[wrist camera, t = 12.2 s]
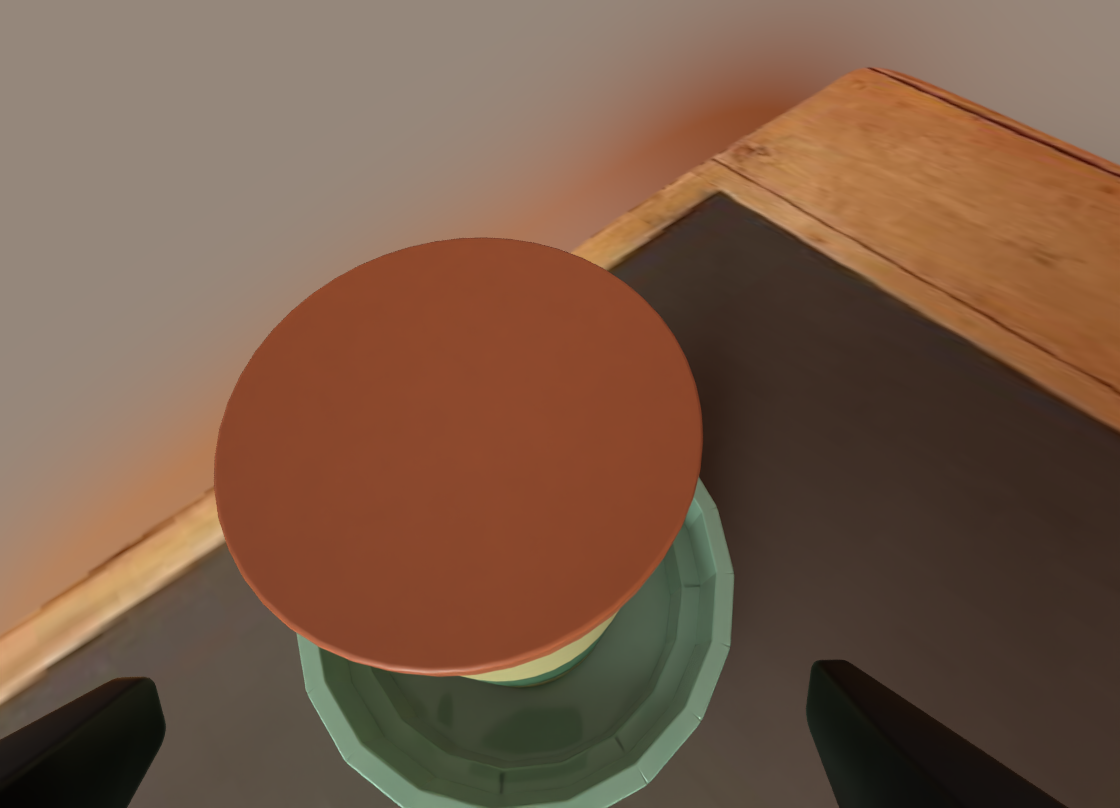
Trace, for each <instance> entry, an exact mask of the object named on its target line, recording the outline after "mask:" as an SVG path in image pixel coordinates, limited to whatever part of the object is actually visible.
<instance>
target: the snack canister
mask: <svg viewBox="0 0 1120 808" xmlns="http://www.w3.org/2000/svg"><path fill="white" fill-rule="evenodd" d="M702 448H703V426H702V411H701V406H700V401H699V396H698V391H697V386H696V383H695V380H694V378H693V375H692V372H691V369H690V367H689V364H688V361H687V358H686V357H685V355H684V353H683V351H682V349H681V347H680V345H679V343H678V341H677V340H676V338H675V336H674V334H673V333H672V332H671V330H670V329H669V328H668V326H667V325H666V323H665V322H664V321H663V319H662V318H661V316H660V315H659V314H658V313H657V312H656V311H655V310H654V309H653V308H652V307H651V306H650V305H649V303H648V302H647V301H646V300H645V299H644V298H643V297H642V296H640V295H639V294H638V293H637V292H636V291H634V290H633V289H632V288H631V287H630V286H628V285H627V284H626V283H625V282H623V281H622V280H620V279H619V278H617V277H616V276H614V275H613V274H611V273H610V272H608V271H606V270H605V269H603V268H601V267H599V266H597V265H595V264H593V263H591V262H589V261H587V260H585V259H583V258H581V257H578V256H576V255H573V254H570V253H568V252H565V251H562V250H560V249H556V248H552V247H549V246H545V245H541V244H537V243H532V242H525V241H519V240H513V239H500V238H459V239H451V240H443V241H435V242H430V243H426V244H421V245H417V246H413V247H408V248H405V249H402V250H398V251H395V252H393V253H389V254H386V255H383V256H381V257H378V258H376V259H374V260H371V261H369V262H366V263H364V264H362V265H359V266H358V267H356V268H354V269H352V270H350V271H348V272H346V273H345V274H343V275H341V276H339V277H337V278H335V279H334V280H332V281H331V282H329V283H328V284H326V285H325V286H323V287H322V288H320V289H319V290H317V291H316V292H314V293H313V294H312V295H310V296H309V297H308V298H307V299H305V300H304V301H303V302H302V303H301V304H299V305H298V306H297V307H296V308H295V309H293V310H292V311H291V312H290V313H289V314H288V315H287V316H286V317H285V318H284V319H283V320H282V321H281V322H280V323H279V324H278V325H277V326H276V327H275V328H274V329H273V330H272V331H271V333H270V334H269V335H268V337H267V338H266V339H265V340H264V342H263V343H262V344H261V346H260V347H259V348H258V349H257V350H256V351H255V353H254V355H253V356H252V358H251V359H250V361H249V363H248V364H247V366H246V367H245V369H244V371H243V372H242V374H241V375H240V377H239V379H238V382H237V384H236V386H235V388H234V390H233V393H232V395H231V397H230V399H229V401H228V404H227V407H226V410H225V413H224V416H223V420H222V423H221V426H220V429H219V435H218V441H217V447H216V453H215V467H214V490H215V497H216V504H217V511H218V518H219V521H220V524H221V527H222V530H223V534H224V537H225V540H226V543H227V546H228V549H229V551H230V553H231V555H232V557H233V559H234V561H235V563H236V565H237V567H238V569H239V570H240V572H241V574H242V576H243V578H244V579H245V581H246V582H247V583H248V585H249V586H250V587H251V588H252V590H253V591H254V592H255V594H256V595H257V596H258V598H259V599H260V600H261V602H262V603H263V604H264V605H265V606H266V607H267V608H268V609H269V610H270V611H271V612H273V613H274V614H275V615H276V616H277V617H278V618H279V619H280V620H281V621H282V622H283V623H285V624H286V625H287V626H288V627H289V628H290V629H292V630H294V631H295V632H297V633H298V634H300V635H301V636H303V637H304V638H306V639H307V640H309V641H311V642H312V643H314V644H315V645H317V646H318V647H320V648H323V649H325V650H327V651H329V652H332V653H334V654H336V655H339V656H341V657H343V658H346V659H348V660H350V661H352V662H356V663H360V664H364V665H368V666H372V667H376V668H380V669H383V670H387V671H392V672H398V673H405V674H416V675H426V676H436V677H444V676H462V677H466V678H470V679H474V680H478V681H483V682H487V683H492V684H496V685H502V686H507V687H517V688H521V687H533V686H538V685H543V684H546V683H549V682H552V681H555V680H557V679H559V678H561V677H563V676H564V675H566V674H568V673H569V672H571V671H572V670H573V669H575V668H576V667H577V666H579V665H580V664H581V663H582V662H583V661H584V660H585V659H586V658H587V657H588V655H589V654H590V653H591V652H592V650H593V649H594V648H595V646H596V645H597V643H598V642H599V641H600V639H601V638H602V636H603V635H604V633H605V632H606V630H607V629H608V627H609V626H610V624H611V623H612V621H613V619H614V618H615V616H616V614H617V613H618V611H619V609H620V608H621V607H622V606H623V605H624V604H625V603H626V602H628V601H629V600H630V599H631V598H632V597H633V596H634V595H635V594H636V593H637V592H638V590H639V589H640V588H641V587H642V585H643V584H644V583H645V582H646V580H647V579H648V578H649V577H650V575H651V574H652V573H653V572H654V570H655V569H656V568H657V567H658V565H659V564H660V563H661V561H662V560H663V558H664V557H665V555H666V553H667V552H668V550H669V548H670V547H671V545H672V543H673V542H674V540H675V538H676V536H677V535H678V533H679V531H680V530H681V528H682V525H683V523H684V520H685V518H686V515H687V513H688V510H689V508H690V506H691V503H692V501H693V498H694V494H695V490H696V486H697V481H698V477H699V473H700V469H701V459H702Z"/></svg>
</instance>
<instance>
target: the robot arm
mask: <svg viewBox="0 0 1120 808" xmlns="http://www.w3.org/2000/svg"><path fill="white" fill-rule="evenodd" d="M806 716H807V722H808V726H809V729H810V732H811V734H812V737H813V740H814V742H815V745H816V748H817V750H818V753H819V755H820V758H821V761H822V763H823V766H824V769H825V771H826V774H827V777H828V779H829V782H830V784H831V787H832V790H833V792H834V795H835V798H836V800H837V803H838V805H839V808H1068V807H1066V806H1065V805H1063V804H1062V803H1060V802H1059V801H1057V800H1056V799H1054V798H1053V797H1051V796H1050V795H1048V794H1047V793H1045V792H1044V791H1042V790H1041V789H1039V788H1038V787H1036V786H1035V785H1033V784H1032V783H1030V782H1029V781H1027V780H1026V779H1024V778H1023V777H1021V776H1020V775H1018V774H1017V773H1015V772H1014V771H1012V770H1011V769H1009V768H1008V767H1006V766H1005V765H1003V764H1002V763H1000V762H999V761H997V760H996V759H994V758H993V757H991V756H990V755H988V754H987V753H985V752H984V751H982V750H981V749H979V748H978V747H976V746H975V745H973V744H972V743H970V742H969V741H967V740H966V739H964V738H963V737H961V736H960V735H958V734H957V733H955V732H954V731H952V730H951V729H949V728H948V727H946V726H944V725H943V724H941V723H940V722H938V721H937V720H935V719H934V718H932V717H931V716H929V715H928V714H926V713H925V712H923V711H922V710H920V709H919V708H917V707H916V706H914V705H913V704H911V703H910V702H908V701H907V700H905V699H904V698H902V697H901V696H899V695H898V694H896V693H895V692H893V691H892V690H890V689H889V688H887V687H886V686H884V685H883V684H881V683H880V682H878V681H877V680H875V679H874V678H872V677H871V676H869V675H868V674H866V673H865V672H863V671H862V670H860V669H859V668H857V667H856V666H854V665H853V664H851V663H849V662H847V661H845V660H818V661H816V662H814V664H813V665H812V668H811V673H810V681H809V689H808V697H807V705H806ZM165 731H166V724H165V719H164V715H163V711H162V708H161V704H160V700H159V697H158V693H157V689H156V686H155V683H154V682H153V681H152V680H151V679H150V678H147V677H121V678H116V679H113V680H111V681H109V682H107V683H105V684H103V685H101V686H100V687H98V688H96V689H94V690H92V691H90V692H88V693H86V694H85V695H83V696H81V697H79V698H77V699H75V700H73V701H72V702H70V703H68V704H66V705H64V706H62V707H60V708H59V709H57V710H55V711H53V712H51V713H49V714H47V715H45V716H44V717H42V718H40V719H38V720H36V721H34V722H32V723H31V724H29V725H27V726H25V727H23V728H21V729H19V730H18V731H16V732H14V733H12V734H10V735H8V736H6V737H4V738H3V739H1V740H0V808H127V807H128V805H129V803H130V801H131V799H132V798H133V796H134V794H135V792H136V790H137V789H138V787H139V785H140V783H141V781H142V779H143V778H144V776H145V774H146V772H147V770H148V769H149V767H150V765H151V763H152V761H153V760H154V758H155V756H156V754H157V752H158V750H159V749H160V747H161V745H162V742H163V739H164V736H165Z"/></svg>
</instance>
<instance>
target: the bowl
mask: <svg viewBox="0 0 1120 808" xmlns="http://www.w3.org/2000/svg"><path fill="white" fill-rule="evenodd" d="M733 573H734V570H733V566H732V562H731V558H730V554H729V551H728V547H727V543H726V539H725V535H724V531H723V527H722V523H721V519H720V515H719V511H718V509H717V506H716V504H715V503H714V501H713V499H712V498H711V496H710V494H709V493H708V491H707V489H706V488H705V486H704V484H703V483H702V481H701V480H700V478H699V477H698V481H697V486H696V490H695V494H694V498H693V501H692V503H691V506H690V508H689V510H688V513H687V515H686V518H685V520H684V523H683V525H682V528H681V530H680V531H679V533H678V535H677V536H676V538H675V540H674V542H673V543H672V545H671V547H670V548H669V550H668V552H667V553H666V555H665V557H664V558H663V560H662V561H661V563H660V564H659V565H658V567H657V568H656V569H655V570H654V572H653V573H652V574H651V575H650V577H649V578H648V579H647V580H646V582H645V583H644V584H643V585H642V587H641V588H640V589H639V590H638V592H637V593H636V594H635V595H634V596H633V597H632V598H631V599H630V600H629V601H628V602H626V603H625V604H624V605H623V606H622V607H621V608H620V609H619V611H618V613H617V614H616V616H615V618H614V619H613V621H612V623H611V624H610V626H609V627H608V629H607V630H606V632H605V633H604V635H603V636H602V638H601V639H600V641H599V642H598V643H597V645H596V646H595V648H594V649H593V650H592V652H591V653H590V654H589V655H588V657H587V658H586V659H585V660H584V661H583V662H582V663H581V664H580V665H579V666H577V667H576V668H575V669H573V670H572V671H571V672H569V673H568V674H566V675H564V676H563V677H561V678H559V679H557V680H555V681H552V682H549V683H546V684H543V685H538V686H533V687H521V688H517V687H507V686H502V685H496V684H492V683H487V682H483V681H478V680H474V679H470V678H466V677H462V676H444V677H436V676H426V675H416V674H405V673H398V672H392V671H387V670H383V669H380V668H376V667H372V666H368V665H364V664H360V663H356V662H352V661H350V660H348V659H346V658H343V657H341V656H339V655H336V654H334V653H332V652H329V651H327V650H325V649H323V648H320V647H318V646H317V645H315V644H314V643H312V642H311V641H309V640H307V639H306V638H304V637H303V636H301V635H300V634H298V633H297V632H296V633H297V639H298V645H299V651H300V657H301V663H302V669H303V675H304V681H305V687H306V692H307V693H308V697H309V698H310V700H311V702H312V704H313V706H314V707H315V709H316V711H317V713H318V714H319V716H320V718H321V720H322V722H323V723H324V725H325V727H326V729H327V730H328V732H329V734H330V736H331V738H332V739H333V741H334V743H335V745H336V747H337V748H338V750H339V752H340V754H341V755H342V757H343V759H344V760H345V761H347V764H348V765H349V766H351V767H352V768H353V769H354V770H355V771H357V772H358V773H359V774H360V775H362V776H363V777H364V778H365V779H367V780H368V781H369V782H370V783H372V784H373V785H374V786H375V787H376V788H378V789H379V790H380V791H381V792H383V793H384V794H385V795H386V796H388V797H389V798H390V799H391V800H392V801H394V802H395V803H396V804H397V805H399V806H400V807H401V808H608V807H610V806H611V805H613V804H615V803H617V802H619V801H620V800H622V799H624V798H626V797H628V796H629V795H631V794H633V793H635V792H636V791H638V790H640V789H642V788H644V787H645V786H646V785H647V783H650V782H651V781H652V780H653V779H654V777H655V776H656V775H657V774H658V773H659V772H660V770H661V769H662V768H663V767H664V766H665V765H666V763H667V762H668V761H669V760H670V759H671V757H672V756H673V755H674V754H675V753H676V752H677V750H678V749H679V748H680V747H681V746H682V744H683V743H684V742H685V741H686V740H687V739H688V737H689V736H690V735H691V734H692V733H693V731H694V730H695V729H696V728H697V727H698V726H699V724H700V723H701V720H702V719H703V718H704V715H705V713H706V710H707V707H708V705H709V702H710V700H711V697H712V694H713V692H714V689H715V687H716V684H717V681H718V679H719V676H720V674H721V671H722V669H723V666H724V663H725V661H726V658H727V656H728V653H729V650H730V648H729V647H730V646H731V632H732V613H733V594H734V574H733Z"/></svg>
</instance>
